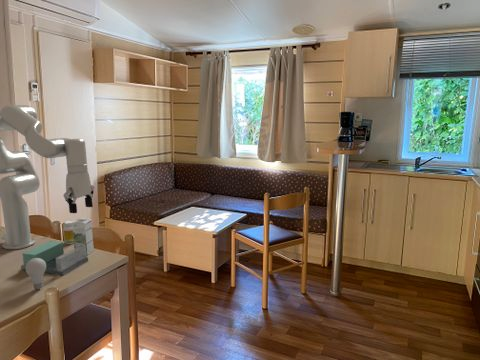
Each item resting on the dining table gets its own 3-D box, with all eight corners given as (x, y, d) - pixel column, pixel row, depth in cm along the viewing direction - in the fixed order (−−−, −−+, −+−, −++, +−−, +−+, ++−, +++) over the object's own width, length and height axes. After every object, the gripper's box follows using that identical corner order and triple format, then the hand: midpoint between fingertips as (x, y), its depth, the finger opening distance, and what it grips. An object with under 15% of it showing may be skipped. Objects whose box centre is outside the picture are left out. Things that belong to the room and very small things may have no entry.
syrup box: (94, 250, 159) (91, 218, 156) (87, 255, 153) (84, 222, 150) (81, 249, 159) (79, 217, 156) (74, 255, 153) (71, 221, 151)
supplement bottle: (78, 242, 168) (77, 222, 166) (66, 245, 164) (64, 224, 163) (75, 239, 172) (74, 219, 170) (63, 241, 169) (61, 221, 167)
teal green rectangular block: (23, 265, 138) (22, 253, 137) (51, 252, 152) (50, 240, 151) (36, 267, 137) (35, 255, 136) (63, 253, 150) (62, 242, 149)
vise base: (21, 269, 139) (19, 253, 138) (49, 255, 152) (47, 241, 151) (63, 275, 134) (61, 258, 133) (88, 260, 147) (86, 245, 146)
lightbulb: (52, 286, 126) (49, 256, 124) (37, 294, 120) (34, 263, 118) (39, 283, 128) (35, 254, 126) (23, 291, 122) (20, 260, 120)
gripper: (83, 166, 159) (87, 204, 162) (54, 172, 142) (58, 214, 145) (98, 166, 157) (102, 205, 160) (70, 172, 140) (74, 216, 143)
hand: (81, 209), depth 152 cm, fingers open, 9 cm apart
